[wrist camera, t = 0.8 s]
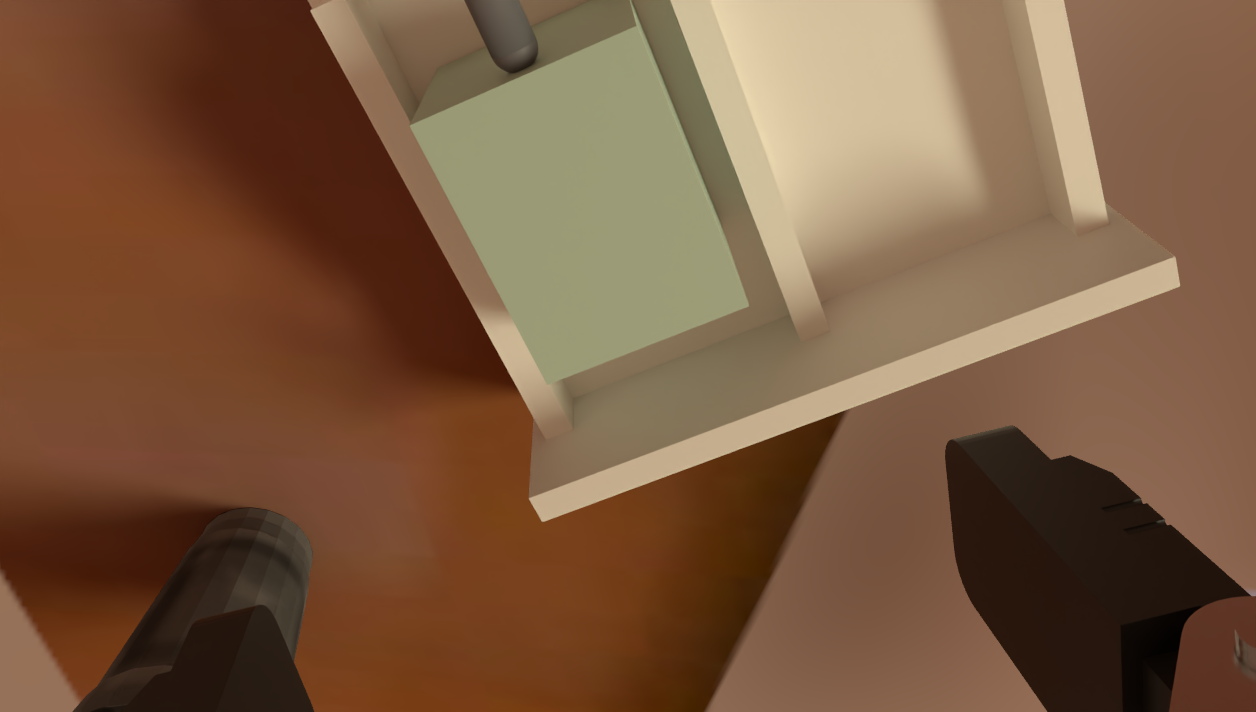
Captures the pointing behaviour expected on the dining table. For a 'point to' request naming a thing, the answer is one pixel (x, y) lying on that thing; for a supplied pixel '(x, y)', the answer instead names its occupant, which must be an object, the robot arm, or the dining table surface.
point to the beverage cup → (214, 597)
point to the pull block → (577, 184)
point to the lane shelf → (805, 213)
